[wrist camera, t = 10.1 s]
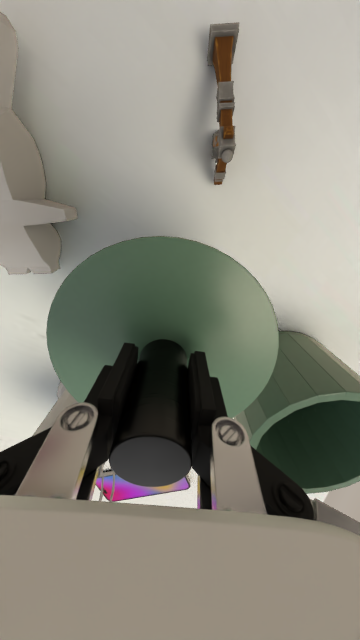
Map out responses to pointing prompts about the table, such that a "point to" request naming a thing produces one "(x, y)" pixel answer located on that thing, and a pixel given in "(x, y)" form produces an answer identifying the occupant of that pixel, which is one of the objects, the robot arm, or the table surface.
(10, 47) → the bunny figurine
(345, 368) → the tin
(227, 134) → the wooden post with brackets
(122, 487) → the smartphone
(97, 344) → the tin lid
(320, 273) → the table surface
